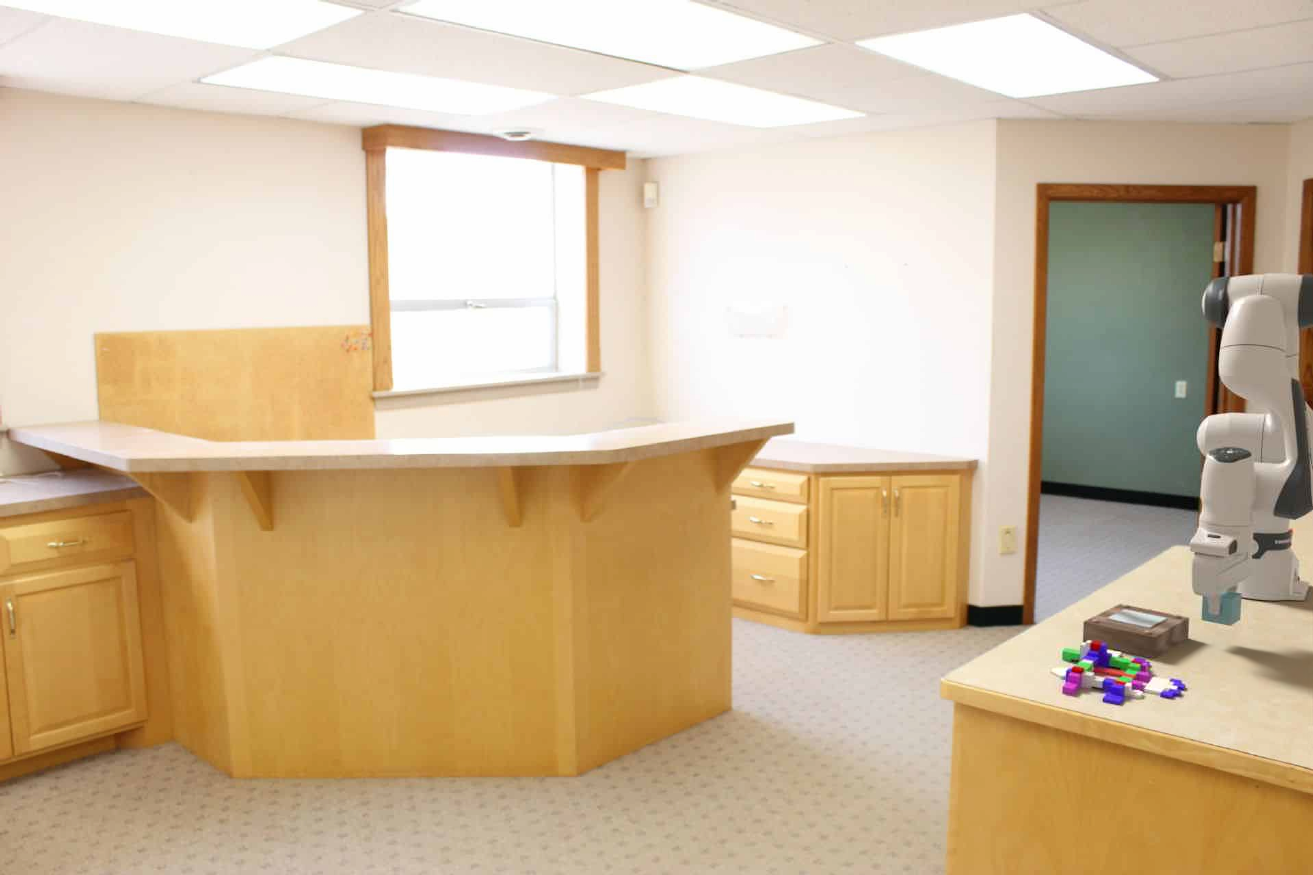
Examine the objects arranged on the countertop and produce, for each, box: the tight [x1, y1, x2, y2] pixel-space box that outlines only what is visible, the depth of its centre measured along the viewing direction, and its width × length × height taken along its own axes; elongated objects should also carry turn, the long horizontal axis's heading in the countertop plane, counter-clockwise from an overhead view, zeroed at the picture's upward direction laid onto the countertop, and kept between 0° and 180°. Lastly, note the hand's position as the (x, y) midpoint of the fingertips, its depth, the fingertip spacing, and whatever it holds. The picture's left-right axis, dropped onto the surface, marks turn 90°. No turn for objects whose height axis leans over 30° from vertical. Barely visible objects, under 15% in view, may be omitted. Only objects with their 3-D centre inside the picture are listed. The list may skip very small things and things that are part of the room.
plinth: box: [1082, 603, 1190, 659], centre depth 198 cm, size 16×13×4 cm
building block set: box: [1050, 640, 1186, 706], centre depth 179 cm, size 25×20×4 cm
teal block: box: [1201, 591, 1243, 627], centre depth 194 cm, size 5×5×5 cm
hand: (1221, 609), depth 194 cm, fingers closed on teal block, 5 cm apart
